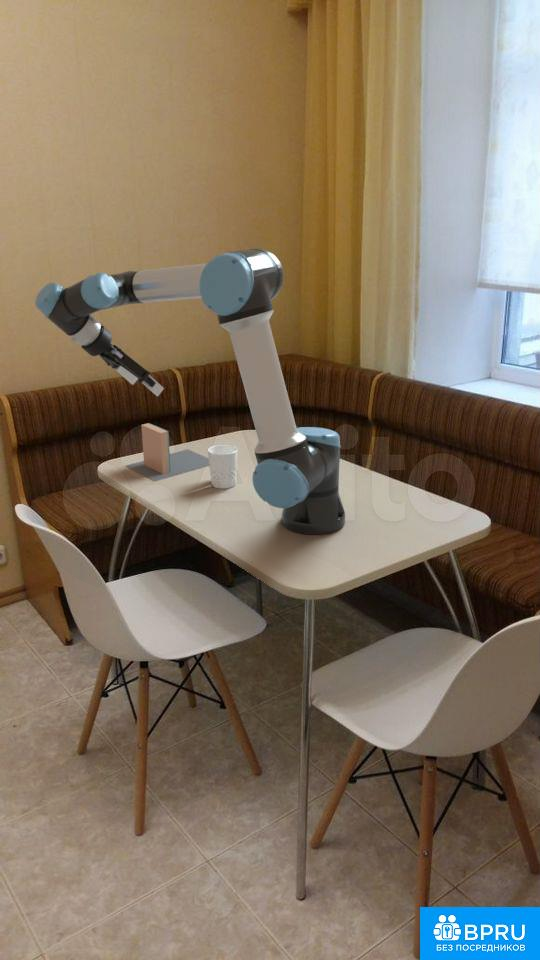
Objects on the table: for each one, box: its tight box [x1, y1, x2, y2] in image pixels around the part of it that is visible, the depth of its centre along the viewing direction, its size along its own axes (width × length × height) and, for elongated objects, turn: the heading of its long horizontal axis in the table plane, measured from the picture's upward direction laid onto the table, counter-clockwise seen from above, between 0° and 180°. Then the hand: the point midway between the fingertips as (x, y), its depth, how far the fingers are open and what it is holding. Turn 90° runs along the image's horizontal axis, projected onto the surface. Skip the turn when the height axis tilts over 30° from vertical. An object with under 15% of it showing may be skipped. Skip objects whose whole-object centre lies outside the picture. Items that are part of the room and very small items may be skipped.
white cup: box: [207, 444, 238, 490], centre depth 203 cm, size 8×8×10 cm
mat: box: [124, 449, 209, 482], centre depth 218 cm, size 22×16×1 cm
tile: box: [141, 422, 171, 474], centre depth 213 cm, size 2×10×12 cm, turn 40°
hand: (147, 386), depth 199 cm, fingers open, 13 cm apart
